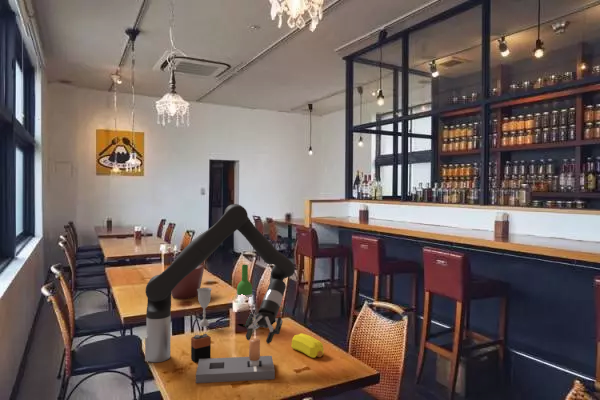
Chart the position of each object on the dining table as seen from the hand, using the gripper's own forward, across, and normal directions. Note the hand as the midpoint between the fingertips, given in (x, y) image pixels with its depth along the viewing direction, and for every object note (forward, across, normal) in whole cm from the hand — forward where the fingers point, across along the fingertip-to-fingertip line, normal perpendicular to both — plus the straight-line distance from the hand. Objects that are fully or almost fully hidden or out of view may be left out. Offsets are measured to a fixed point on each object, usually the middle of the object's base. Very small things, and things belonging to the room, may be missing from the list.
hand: (257, 341), depth 162 cm
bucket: (-47, -93, +63) cm, 122 cm away
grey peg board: (+12, -6, +4) cm, 14 cm away
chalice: (-17, -49, +33) cm, 61 cm away
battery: (+8, -25, +7) cm, 28 cm away
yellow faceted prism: (-9, +11, +25) cm, 29 cm away
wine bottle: (-24, -31, +40) cm, 56 cm away
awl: (+9, 0, +6) cm, 11 cm away
